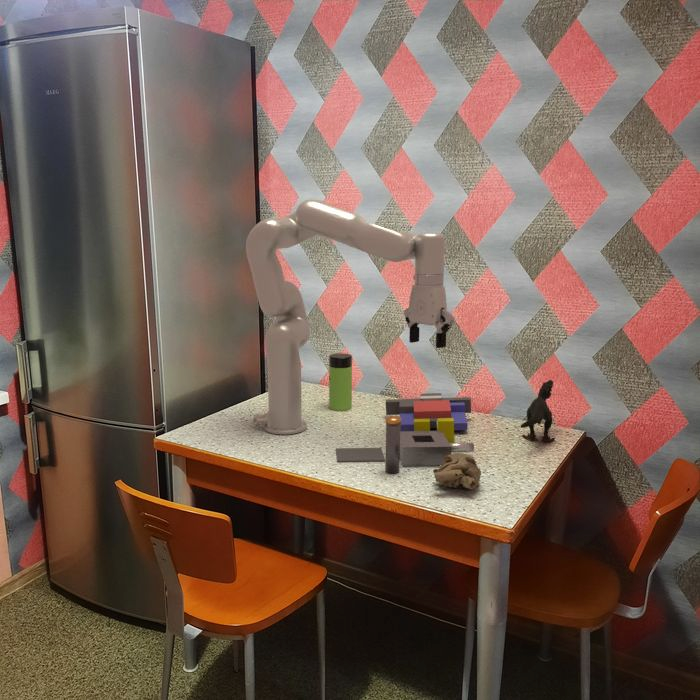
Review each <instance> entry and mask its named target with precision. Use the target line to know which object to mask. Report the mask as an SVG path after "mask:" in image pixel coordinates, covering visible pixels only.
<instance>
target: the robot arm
mask: <svg viewBox="0 0 700 700" xmlns="http://www.w3.org/2000/svg"><path fill="white" fill-rule="evenodd" d="M249 231H250V232H249V234H248V235H247V238H246V243H245V251H246V257H247V262H248V264H249V268H250V272H251V275H252V279H253V285H254V289H255V293H256V296H257V300H258V303H259V304H258V305H259V307H260V309H261V311H262V313H263V314H265V315H266V316H267V317H272V318H275V320H276V322H274V323H272V324H271V325H270V326H269V328H268V329H267V331H266V332H265V335H264V348H265V354H266V361H267V362H266V363H267V364H266V365H267V392H268V393H267V394H268V397H267V398H268V410H267V413H266V412H265V413H264V414H259V413H258V414H255V413H254V414H253V417H252V419H253V422H256V423H257V424H259V423H263V430H264V431H265V432H266V433H269V434H273V435H282V436H283V435H284V436H285V435H294V434H299V433H302V432H304V431H305V430H307V429H308V423H307V422H306V420H303V419H302V418H303V417H302V416H303V414H302V411H303V409H302V365H301V358H300V357H301V356H300V352H299V350H300V348H302V347H303V346H304V345H306V344H307V342H308V341H309V338H310V337H311V336H310V335H311V328H310V324H309V320H308V314H307V312H306V309H305V308H306V307H305V302H304V299H303V297H302V293H301V291H300V290H299V288H298V286H297V285H296V284H294V283H293V282H291V281H288V280H286V279H285V276H284V273H283V268H282V265H281V262H280V260H279V258H278V255H277V251H278V250H282V249H288V248H292V247H295V246H296V245H299V244H301V243H303V242H305V241H308V239H311V238H313V237H315V236H317V235H318V236H321V237H324V238H327V239H330V240H332V241H335V242H338V243H341V244H343V245H346V246H348V247H350V248H354V249H356V250H359V251H361V252H364V253H366V254H370V255H371V256H375V257H377V258H380V259H384V260H386V261H388V262H389V261H390V262H393V263H400V262H404V261H408V260H409V261H410V260H414V275H413V280H414V284H413V285H412V286H411V290H410V294H409V295H410V296H409V303H408V308H406V309H404V310H403V315H404V318H405V322H406V323H407V328H409V341H408V342H409V343H419V341H420V326H419V325H420V324H421V325H425V326H435V328H436V331H437V332H436V335H435V348H436V349H442V348H445V347H447V333H448V332H449V330H450V329H451V328H452V327H453V326H452V325H453V323H454V321H455V317H454V316H453V315H452V314H451V313H450V312H449V311H448V310H447V308H448V307H447V306H448V305H447V294H446V288H445V287H446V286H444V279H445V278H444V277H445V276H444V275H445V273H444V272H445V243H446V242H445V241H446V237H445V236H444V234H442V233H441V232H440V233H438V232H422V233H415V232H407V231H395V230H392V229H389V228H385V227H383V226H380V225H377V224H374V223H373V222H371V221H367V220H366V219H365V218H364V217H362V216H361V215H359V214H358V213H354V212H352V211H348V210H345V209H343V208H339V207H337V206H333V205H330V204H329V203H328V202H326V201H323V200H319V199H308V200H303V201H302V202H301V203H300V204H299V205H298V206H297V208H296V211H295V212H293V213H291V214H289V215H287V216H285V217H269V218H265V219H262V220H261V221H259V222H258V223H256V224H255V225H254V226H253V227H252V228H251V230H249Z"/></svg>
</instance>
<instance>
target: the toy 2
mask: <svg viewBox="0 0 700 700" xmlns="http://www.w3.org/2000/svg"><path fill="white" fill-rule="evenodd" d="M553 385H554V381H553V380H552V379H549V380H548V381H546V382H542V385H541V387H540V389H539V391H538V394H537V397H536V398H535V399H533V401H532V402H531V403H530V406H529V407H528V408H527V411H526V418H527V419H526V421H525V422H523V423H522V424H520V428H522V429H523V428H529V433H527V435H526V434H522V435H521V436H522V438H523V439H527V440H528V441H529V440H530V441H531V440H535V441H536V442H538V439H537V434H536V432H535V428H534V427H535V425H539V426H540V425H541V424H542V421H543V420H544V423H543V424H544V425H543V436H542V437H541V441H540V443H542V442H544V443H546V444H547V443H551V442H553V441H555V440H556V437H552V438H551V436H550V435H549V430H550V428H551V427H552V425H553V413H552V411H551V409H550V407H549V406H548V404H547V401H546V400H548V399H550V398H551V396H552V393H551V392H553V389H552V388H553Z"/></svg>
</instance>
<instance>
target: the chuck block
mask: <svg viewBox="0 0 700 700" xmlns="http://www.w3.org/2000/svg"><path fill="white" fill-rule="evenodd" d="M474 452H475V445H474V442H454V443H449V442H448V440H447V439H446V437H445V435H444V434H443V432H442V431H437V430H430V431H400V463H401V466H402V467H407V468H408V467H440V465H441V464H442V462H443V461H444V459H445V457H446V456H448V455H451V454H452V453H474ZM438 465H439V466H438Z"/></svg>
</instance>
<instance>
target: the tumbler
mask: <svg viewBox="0 0 700 700" xmlns="http://www.w3.org/2000/svg"><path fill="white" fill-rule="evenodd" d="M328 357H329V358H328V381H329V382H328V384H329V386H328V391H329V392H328V397H329V399H328V400H329V401H328V402H329V403H328V407H329V409H330V410H331V411H336V410H337V412H344V411H343V410H345V411H349V410H351V409H352V406H353V405H352V404H353V401H352V398H353V395H352V393H353V392H352V391H353V389H352V388H353V387H352V386H353V382H352V381H353V380H352V379H353V355H351V354H349V353H343V352H341V353H339V352H338V353H332V354H329V356H328Z"/></svg>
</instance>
